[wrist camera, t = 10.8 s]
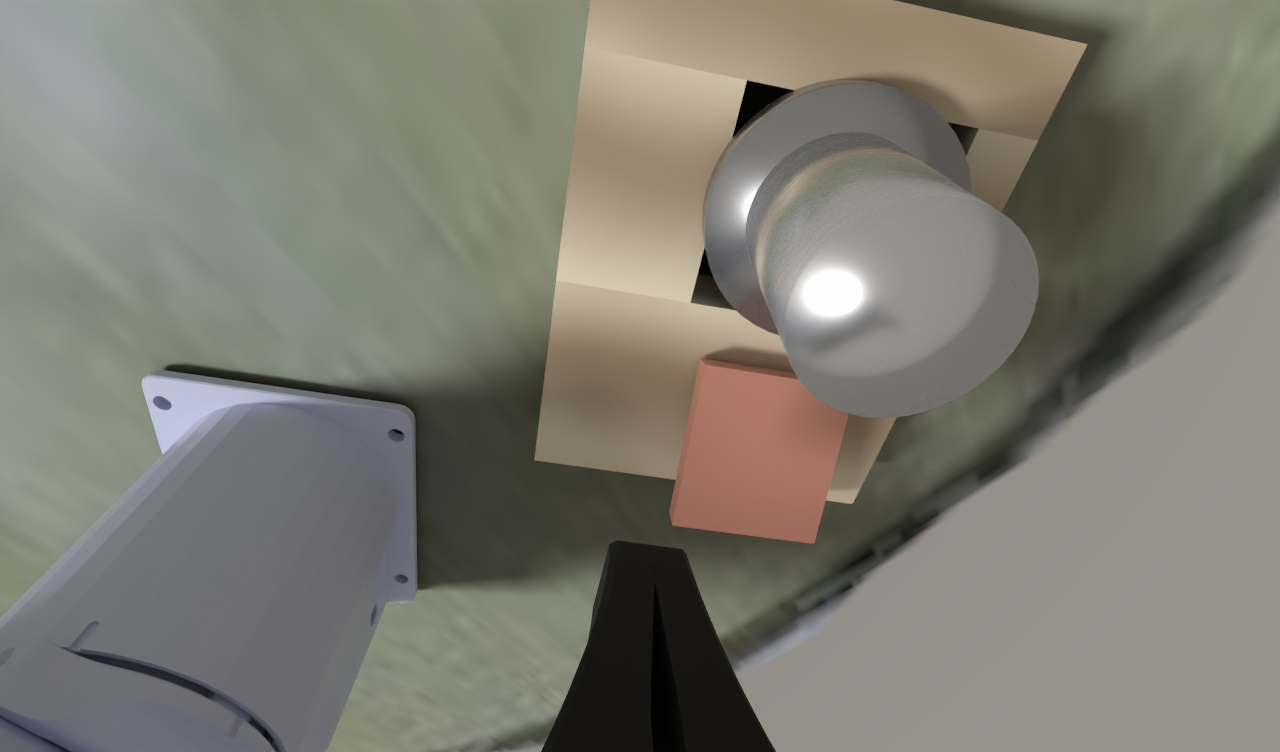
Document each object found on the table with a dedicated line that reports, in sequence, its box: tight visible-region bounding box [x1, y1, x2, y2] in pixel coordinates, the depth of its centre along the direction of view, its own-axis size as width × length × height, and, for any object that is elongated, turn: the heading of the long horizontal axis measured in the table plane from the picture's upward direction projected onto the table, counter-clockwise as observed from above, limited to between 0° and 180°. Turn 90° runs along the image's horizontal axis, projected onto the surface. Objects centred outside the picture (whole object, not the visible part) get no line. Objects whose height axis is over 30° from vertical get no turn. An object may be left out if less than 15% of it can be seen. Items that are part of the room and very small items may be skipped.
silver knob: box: [702, 79, 1039, 418], centre depth 13 cm, size 6×6×7 cm
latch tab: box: [669, 358, 849, 544], centre depth 17 cm, size 4×4×1 cm
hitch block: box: [534, 0, 1088, 504], centre depth 16 cm, size 13×10×2 cm
